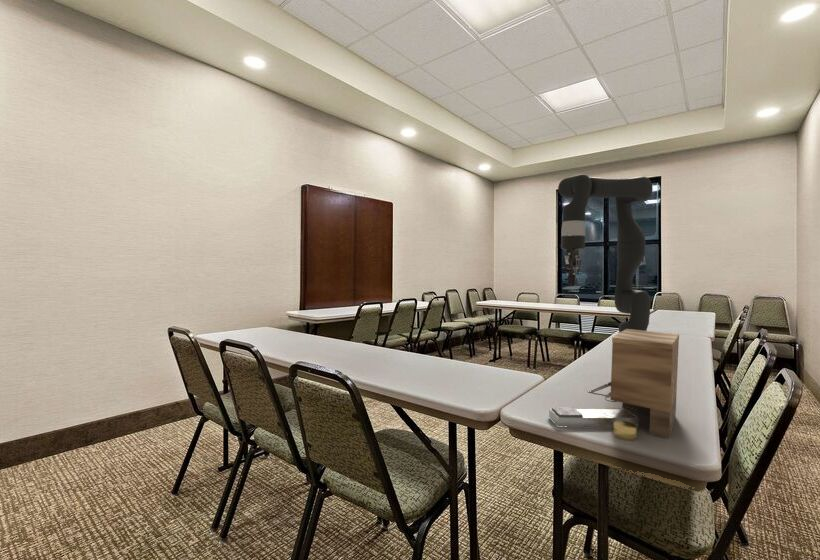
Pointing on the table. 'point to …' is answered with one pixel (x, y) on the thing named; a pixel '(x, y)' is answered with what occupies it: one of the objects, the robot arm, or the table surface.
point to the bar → (590, 417)
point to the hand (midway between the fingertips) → (571, 286)
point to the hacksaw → (601, 388)
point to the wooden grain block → (646, 375)
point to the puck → (625, 430)
